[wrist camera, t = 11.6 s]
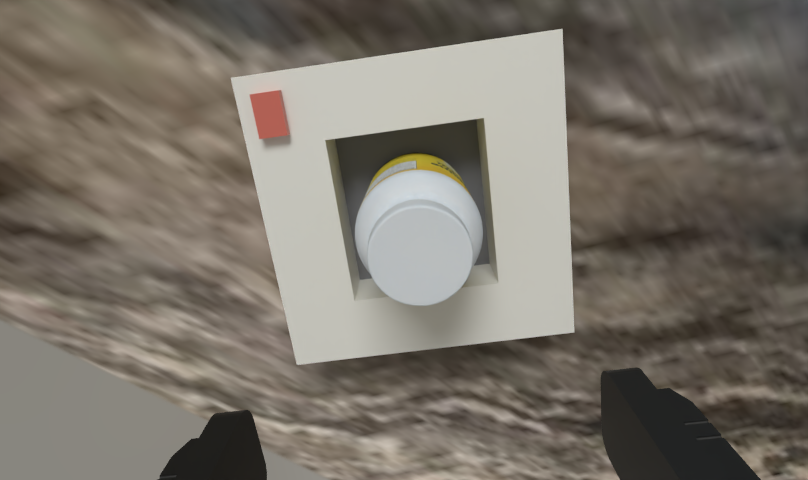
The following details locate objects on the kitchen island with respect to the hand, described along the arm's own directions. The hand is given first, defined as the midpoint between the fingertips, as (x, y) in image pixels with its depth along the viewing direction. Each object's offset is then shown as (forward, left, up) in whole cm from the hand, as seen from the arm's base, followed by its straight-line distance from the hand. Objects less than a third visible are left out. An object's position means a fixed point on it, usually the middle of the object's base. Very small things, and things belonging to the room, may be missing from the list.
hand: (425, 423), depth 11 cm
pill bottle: (0, 0, -23) cm, 23 cm away
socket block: (0, 0, -23) cm, 23 cm away
